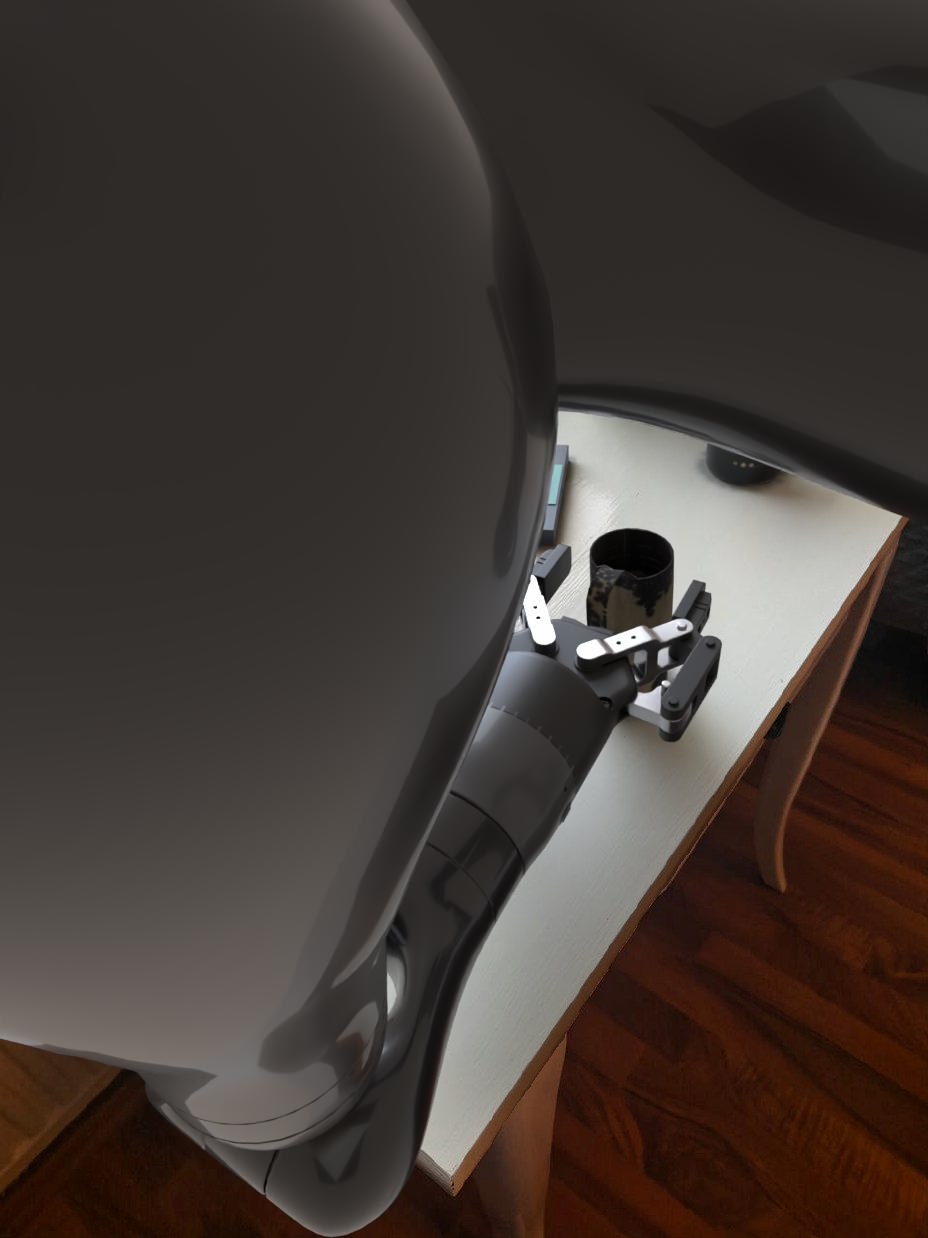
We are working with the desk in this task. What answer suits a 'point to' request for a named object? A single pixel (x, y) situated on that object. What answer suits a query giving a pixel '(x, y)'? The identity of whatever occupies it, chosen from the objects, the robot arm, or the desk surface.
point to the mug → (631, 584)
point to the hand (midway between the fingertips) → (630, 573)
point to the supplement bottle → (738, 467)
